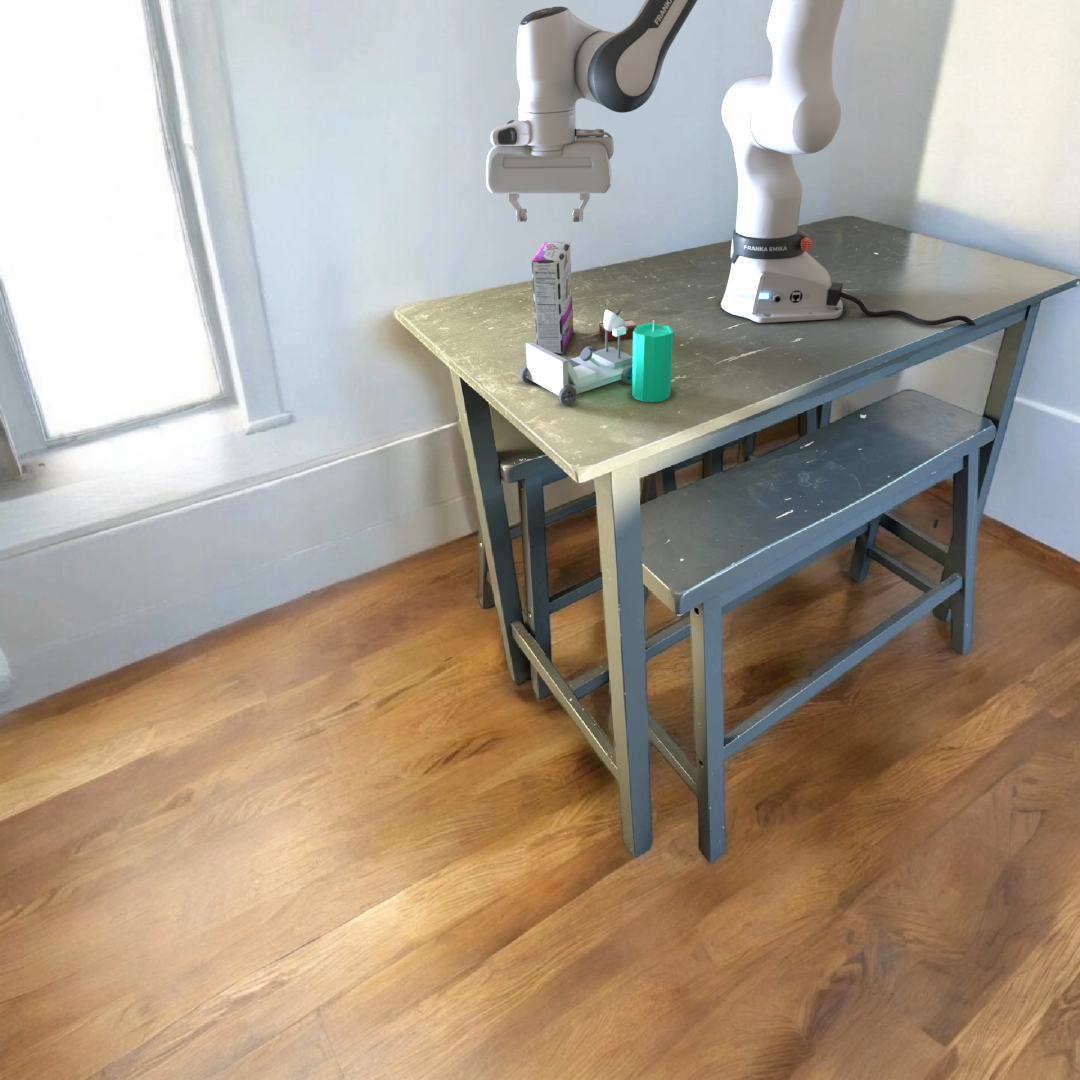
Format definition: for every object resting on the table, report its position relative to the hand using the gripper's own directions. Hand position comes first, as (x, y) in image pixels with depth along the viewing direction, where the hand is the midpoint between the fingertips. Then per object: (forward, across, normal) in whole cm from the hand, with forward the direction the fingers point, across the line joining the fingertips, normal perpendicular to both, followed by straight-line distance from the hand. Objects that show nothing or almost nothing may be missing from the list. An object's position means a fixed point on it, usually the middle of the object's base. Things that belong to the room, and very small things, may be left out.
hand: (549, 221), depth 141 cm
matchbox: (+21, -11, -4) cm, 24 cm away
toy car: (+21, -8, +16) cm, 28 cm away
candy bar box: (+21, 0, 0) cm, 21 cm away
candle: (+21, -18, +21) cm, 35 cm away
